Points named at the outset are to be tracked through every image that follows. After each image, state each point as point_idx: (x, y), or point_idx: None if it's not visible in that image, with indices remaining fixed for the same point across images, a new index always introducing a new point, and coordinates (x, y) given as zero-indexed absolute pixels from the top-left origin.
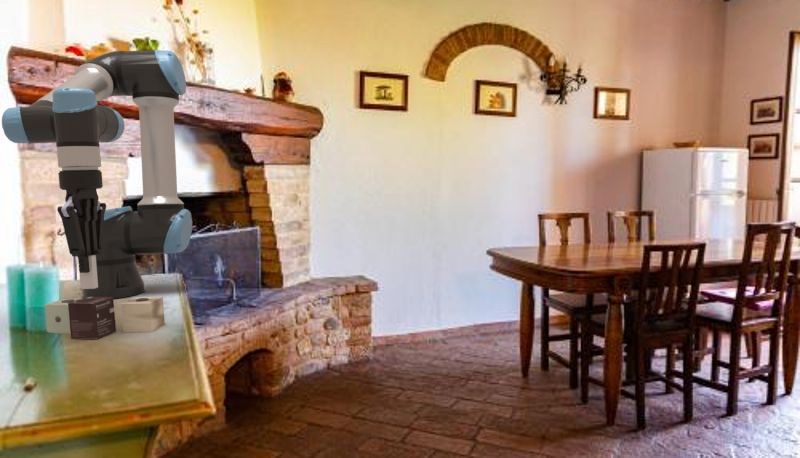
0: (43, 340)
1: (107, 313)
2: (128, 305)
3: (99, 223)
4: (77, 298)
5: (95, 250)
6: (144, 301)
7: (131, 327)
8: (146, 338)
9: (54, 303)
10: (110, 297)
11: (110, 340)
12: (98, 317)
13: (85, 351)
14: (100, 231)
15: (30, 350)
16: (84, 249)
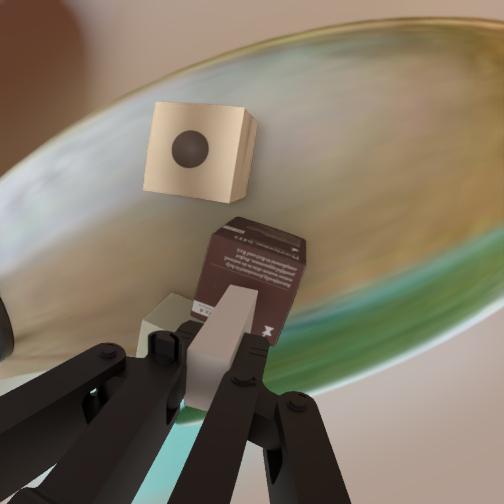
0: (279, 353)
1: (255, 235)
2: (234, 178)
3: (4, 437)
4: (137, 352)
5: (168, 364)
6: (211, 135)
7: (247, 173)
8: (322, 118)
9: None
10: (219, 240)
11: (321, 203)
12: (293, 247)
13: (400, 231)
14: (42, 402)
15: (353, 348)
16: (283, 407)
